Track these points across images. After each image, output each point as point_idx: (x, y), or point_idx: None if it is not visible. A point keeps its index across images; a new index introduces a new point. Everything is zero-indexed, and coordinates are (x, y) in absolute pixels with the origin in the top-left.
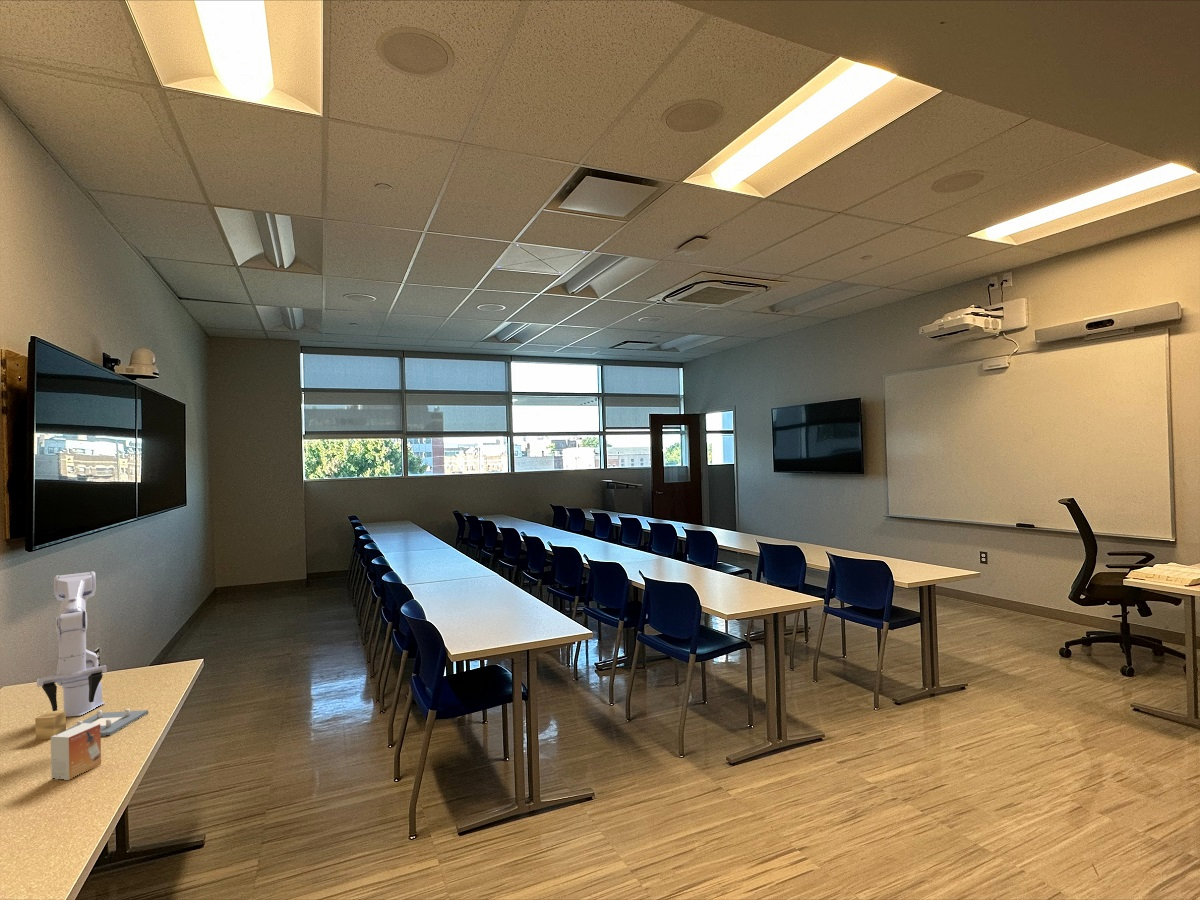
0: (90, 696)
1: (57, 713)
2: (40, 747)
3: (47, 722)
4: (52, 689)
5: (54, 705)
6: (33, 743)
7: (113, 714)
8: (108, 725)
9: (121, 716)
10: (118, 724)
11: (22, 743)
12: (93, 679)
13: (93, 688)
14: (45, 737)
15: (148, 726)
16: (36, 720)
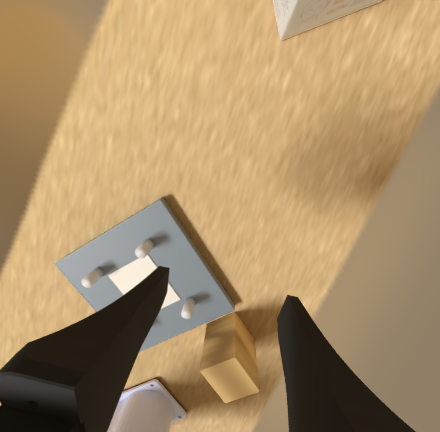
0: (158, 288)
1: (216, 374)
2: (272, 286)
3: (243, 355)
4: (371, 419)
5: (305, 315)
6: (267, 323)
7: None
8: (148, 241)
9: (108, 284)
10: (129, 236)
11: (276, 343)
12: (86, 358)
13: (127, 308)
14: (244, 328)
15: (83, 163)
16: (258, 382)
